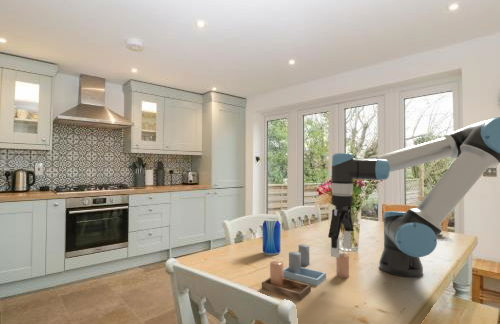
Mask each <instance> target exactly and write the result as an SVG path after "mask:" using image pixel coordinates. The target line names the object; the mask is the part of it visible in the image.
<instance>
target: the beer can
mask: <svg viewBox="0 0 500 324" xmlns="http://www.w3.org/2000/svg"><path fill="white" fill-rule="evenodd" d="M281 226H282V225H281V223H280V220H279V219H278V218H272V217H269V218H265V219H264V220H263V223H262V252H263V254H264V255H265V256H268V257H269V256H277V255H279V254H280V253H281V246H282V245H281V244H282V243H281V238H282V237H281V235H282V234H281Z"/></svg>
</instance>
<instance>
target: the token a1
mask: <svg viewBox="0 0 500 324" xmlns="http://www.w3.org/2000/svg"><path fill="white" fill-rule="evenodd" d="M269 270H270V271H269V278H270V284H271V285H275V286H278V287H282V288H283V278H284V277H283V270H284V262H282V261H281V260H273V261H270V263H269Z"/></svg>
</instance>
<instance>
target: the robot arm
mask: <svg viewBox="0 0 500 324" xmlns="http://www.w3.org/2000/svg"><path fill="white" fill-rule="evenodd" d="M446 158H451V159H455V160H454V161H453V163H452V164H450V166H449V168H447V169H446V171H445V172H444V173H443V175H442V176H440V178H439V179H438V180H437V182H436V183H435V184H434V185H433V187H432V188H431V190H429V192H428V193H427V194H426V195H425V196H424V198H423V199H422V200H421V202H420V203H419V204H418V205H417V207H414V208H408V209H407V211H397V210H396V211H391V210H390V211H389V210H388V211H385V212H383V219H382V220H383V250H382V252H381V256H380V259H379V264H378V265H379V269H380V270H382V271H384V272H386V273H388V274H391V275H396V276H399V277H407V278H408V277H409V278H411V277H412V278H413V277H414V278H415V277H420V276H422V275H423V274H424V267H423V264H422V261H421V259H420V258H423V257H424V258H425V257H426V256H429V255H430V254H432V253H434V251H435V249H436V248H437V244H438V240H437V238H438V236H440V235H439V234H440V233H443V227H442V223H443V222H444V221H445V220H446V218H447V217H449V215H450V213H452V211H453V210H454V209H455V207H456V206H458V204H459V203H460V202H461V201H462V200H463V199H464V197H465V196H466V194H468V192H469V191H470V189H472V187H473V186H474V185H475V184H476V183H477V181H479V179H480V178H481V177H482V176H483V175H484V173H485V172H487V170H488V168H490V167H493V166H499V164H500V116H496V117H491V118H488V119H485V120H481V121H479V122H475V123H472V124H470V125H467V126H465V127H463V128H460V129H457V130H455V131H453V132H452V131H451V132H448V133H446V134H444V135H443V136H442V137H441V138H437V139H434V140H431V141H427V142H423V143H420V144H417V145H412V146H409V147H405V148H402V149H398V150H395V151H391V152H388V153H384V154H380V155H377V156H373V157H370V158H355V157H354V154H353V153H346V152H345V153H344V152H339V153H338V152H337V153H333V155H332V158H331V159H332V160H331V185H330V188H331V194H332V195H331V199H330V200H331V201H330V202H331V205H332V206H335V209H334V208H333V209H332V210H331V212H332V213H331V219H330V225H329V230H328V231H329V232H328V238H329V239H330V257H333V258H336V257H337V258H339V254H340V238H339V236H340V232H341V228H342V226H343V229H344V230H343V243H342V244H343V249H350V250H351V249H352V232H354V225H353V217H352V208H351V207H353V205H354V203H353V202H354V201H353V200H354V197H353V194H354V180H374V181H375V180H376V181H380V180H381V181H382V180H383V181H385V180H388V178H389V177H390V173H392V172H395V171H400V170H404V169H407V168H411V167H415V166H419V165H422V164H426V163H431V162H434V161H437V160H442V159H446Z"/></svg>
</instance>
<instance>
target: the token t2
mask: <svg viewBox="0 0 500 324" xmlns="http://www.w3.org/2000/svg"><path fill="white" fill-rule="evenodd" d="M335 258H336V261H335V262H336V263H335V264H336V277H338V278H341V279H349V278H350V260H349V259H350V256H349V254H346V253H339V258H337V257H335Z"/></svg>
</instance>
